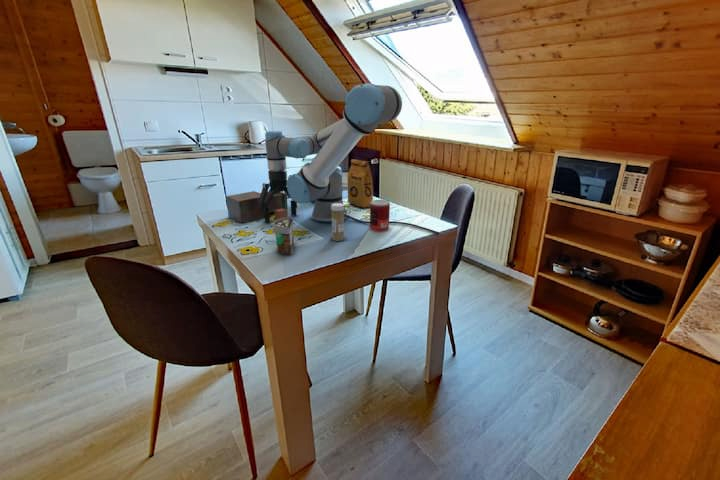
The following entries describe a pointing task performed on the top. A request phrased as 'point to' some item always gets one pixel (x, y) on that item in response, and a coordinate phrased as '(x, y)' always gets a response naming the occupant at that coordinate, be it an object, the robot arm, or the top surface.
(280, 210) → the block
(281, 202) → the drawer
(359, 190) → the coffee package
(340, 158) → the robot arm
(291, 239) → the food container
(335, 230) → the sprinkles bottle
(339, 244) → the top surface
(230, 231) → the top surface
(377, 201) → the canned food
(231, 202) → the cabinet
